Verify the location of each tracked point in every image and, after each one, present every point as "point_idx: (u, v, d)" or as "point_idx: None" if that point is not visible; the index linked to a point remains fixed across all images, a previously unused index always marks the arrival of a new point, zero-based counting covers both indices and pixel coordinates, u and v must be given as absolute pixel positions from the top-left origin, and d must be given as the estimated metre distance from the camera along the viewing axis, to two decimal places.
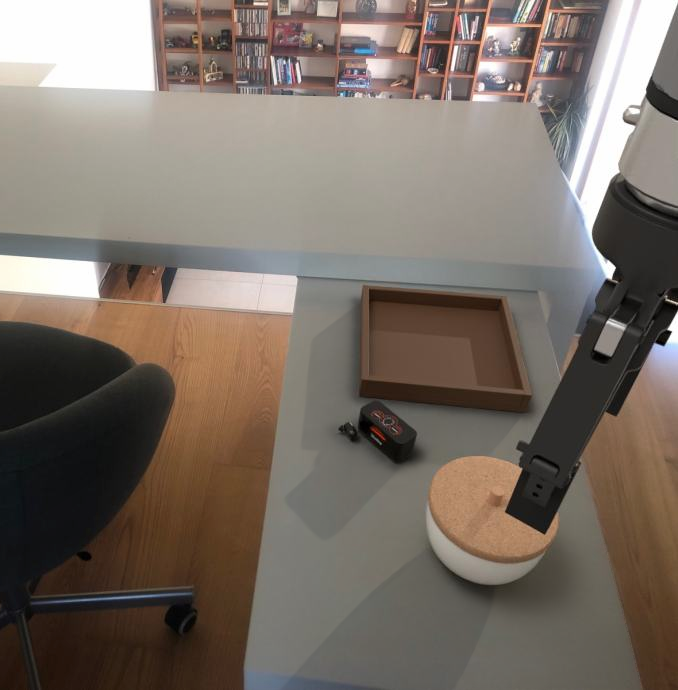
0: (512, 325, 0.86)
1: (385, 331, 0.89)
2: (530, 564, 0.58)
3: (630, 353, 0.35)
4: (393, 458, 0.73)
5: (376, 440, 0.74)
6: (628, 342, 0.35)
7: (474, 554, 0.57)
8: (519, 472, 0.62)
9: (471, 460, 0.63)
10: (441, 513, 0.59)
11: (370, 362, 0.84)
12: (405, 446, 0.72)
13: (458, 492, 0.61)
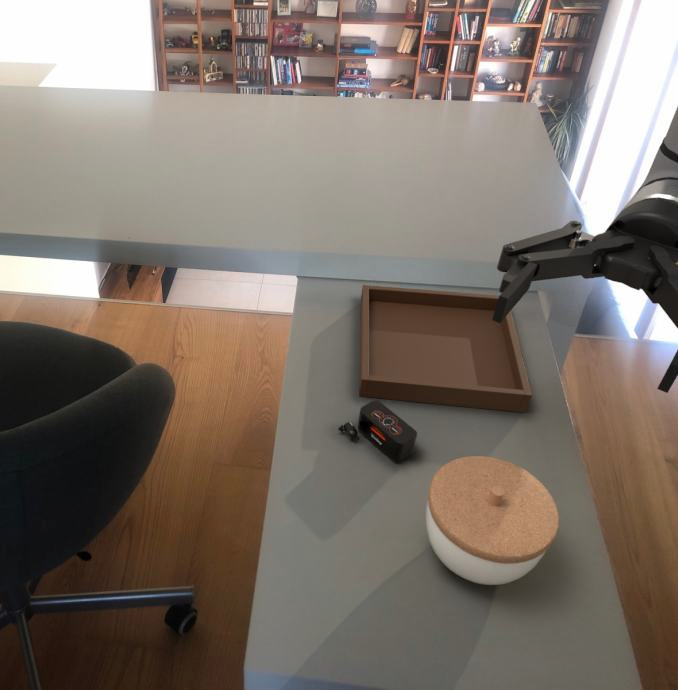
0: (512, 325, 0.86)
1: (385, 331, 0.89)
2: (530, 564, 0.58)
3: (566, 224, 0.68)
4: (393, 458, 0.73)
5: (376, 440, 0.74)
6: None
7: (474, 554, 0.57)
8: (519, 472, 0.62)
9: (470, 460, 0.63)
10: (441, 513, 0.59)
11: (370, 362, 0.84)
12: (405, 446, 0.72)
13: (458, 492, 0.61)
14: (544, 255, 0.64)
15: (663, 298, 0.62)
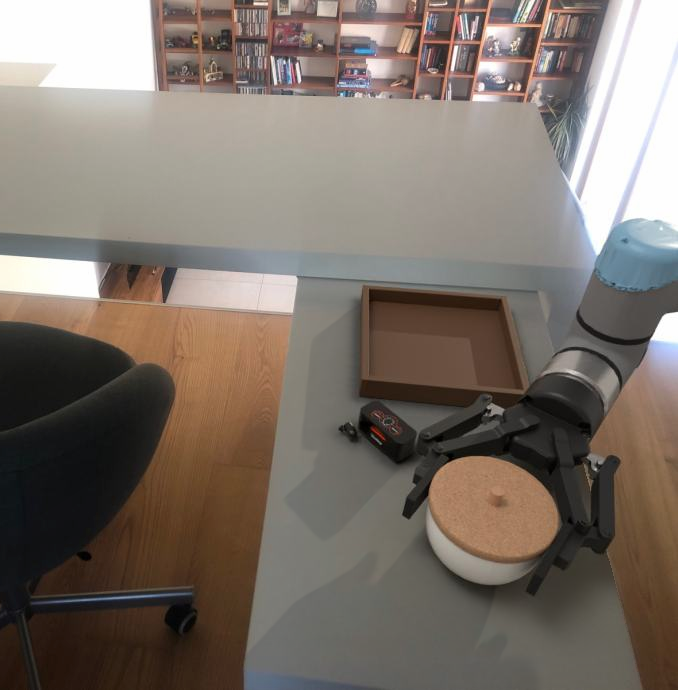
0: (512, 325, 0.86)
1: (385, 331, 0.89)
2: (530, 564, 0.58)
3: (477, 399, 0.70)
4: (393, 458, 0.73)
5: (376, 440, 0.74)
6: None
7: (474, 554, 0.57)
8: (519, 472, 0.62)
9: (471, 460, 0.63)
10: (441, 513, 0.59)
11: (370, 362, 0.84)
12: (405, 446, 0.72)
13: (458, 492, 0.61)
14: (457, 443, 0.66)
15: (555, 483, 0.64)
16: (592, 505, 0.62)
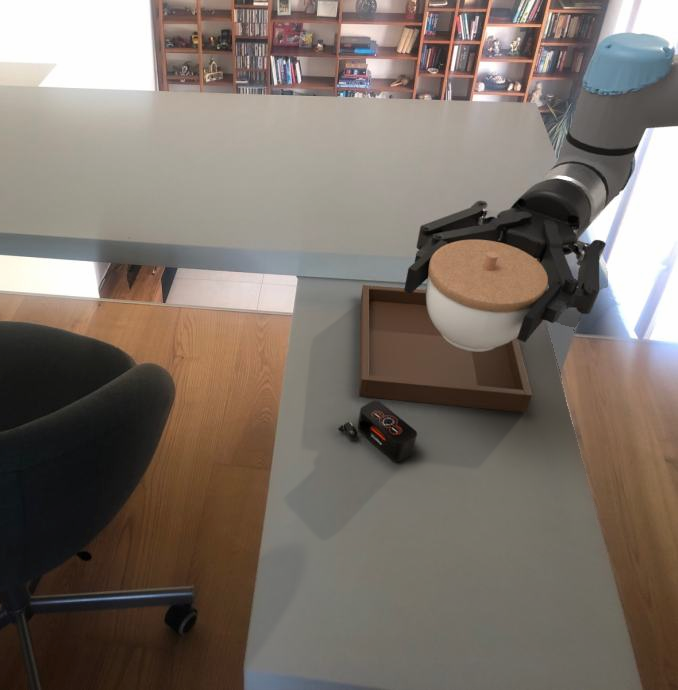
0: None
1: (385, 331, 0.89)
2: (522, 317, 0.63)
3: (474, 204, 0.76)
4: (393, 458, 0.73)
5: (376, 440, 0.74)
6: None
7: (470, 306, 0.62)
8: (512, 249, 0.68)
9: (467, 242, 0.69)
10: (440, 276, 0.65)
11: (370, 362, 0.84)
12: (405, 446, 0.72)
13: (456, 262, 0.66)
14: (455, 233, 0.71)
15: (545, 264, 0.69)
16: (579, 280, 0.68)
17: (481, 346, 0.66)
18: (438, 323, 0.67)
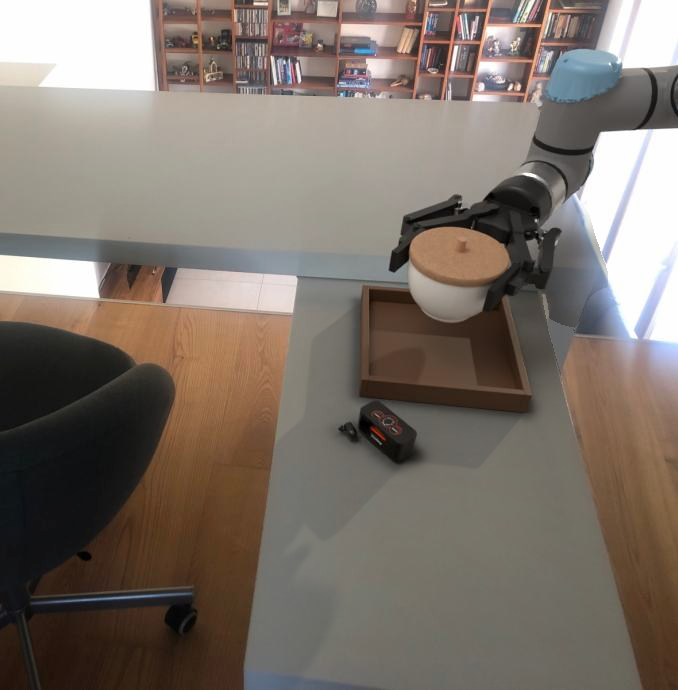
0: (512, 325, 0.86)
1: (385, 331, 0.89)
2: (486, 291, 0.75)
3: (450, 197, 0.87)
4: (393, 458, 0.73)
5: (376, 440, 0.74)
6: None
7: (443, 281, 0.74)
8: (480, 234, 0.79)
9: (443, 229, 0.80)
10: (418, 257, 0.76)
11: (370, 362, 0.84)
12: (405, 446, 0.72)
13: (432, 245, 0.78)
14: (432, 222, 0.83)
15: (510, 249, 0.81)
16: (538, 261, 0.79)
17: (453, 317, 0.78)
18: (417, 298, 0.78)
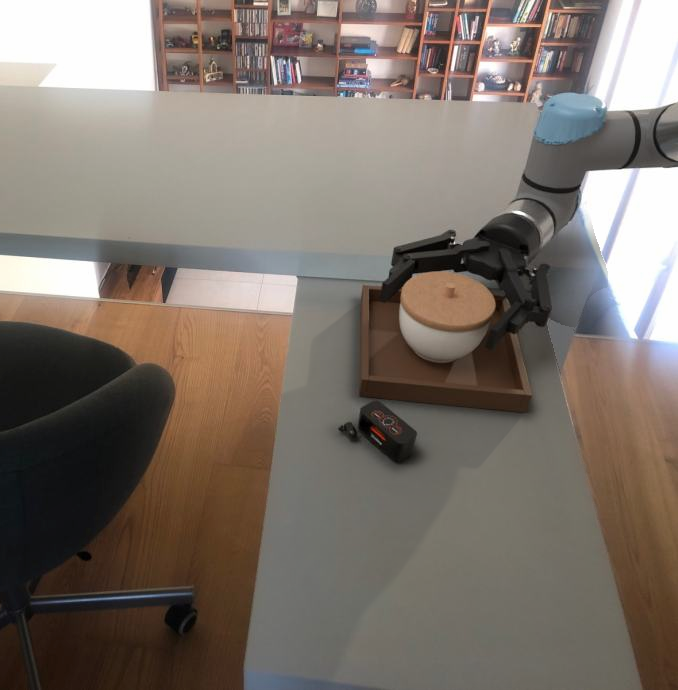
0: None
1: (385, 331, 0.89)
2: (474, 336, 0.79)
3: (445, 232, 0.91)
4: (393, 458, 0.73)
5: (376, 440, 0.74)
6: None
7: (432, 327, 0.78)
8: (468, 279, 0.83)
9: (433, 273, 0.85)
10: (409, 302, 0.80)
11: (370, 362, 0.84)
12: (405, 446, 0.72)
13: (422, 290, 0.82)
14: (422, 254, 0.87)
15: (505, 286, 0.85)
16: (533, 298, 0.83)
17: (443, 359, 0.82)
18: (408, 340, 0.83)
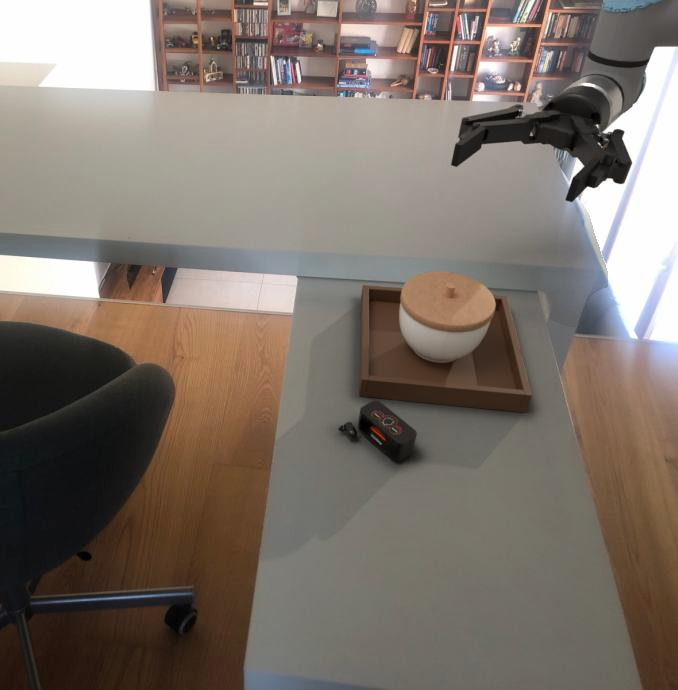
0: (512, 325, 0.86)
1: (385, 331, 0.89)
2: (474, 336, 0.79)
3: (512, 106, 0.90)
4: (393, 458, 0.73)
5: (376, 440, 0.74)
6: None
7: (432, 327, 0.78)
8: (468, 279, 0.83)
9: (433, 273, 0.84)
10: (409, 302, 0.80)
11: (370, 362, 0.84)
12: (405, 446, 0.72)
13: (422, 290, 0.82)
14: (492, 123, 0.86)
15: (578, 151, 0.83)
16: None
17: (443, 359, 0.82)
18: (408, 340, 0.83)
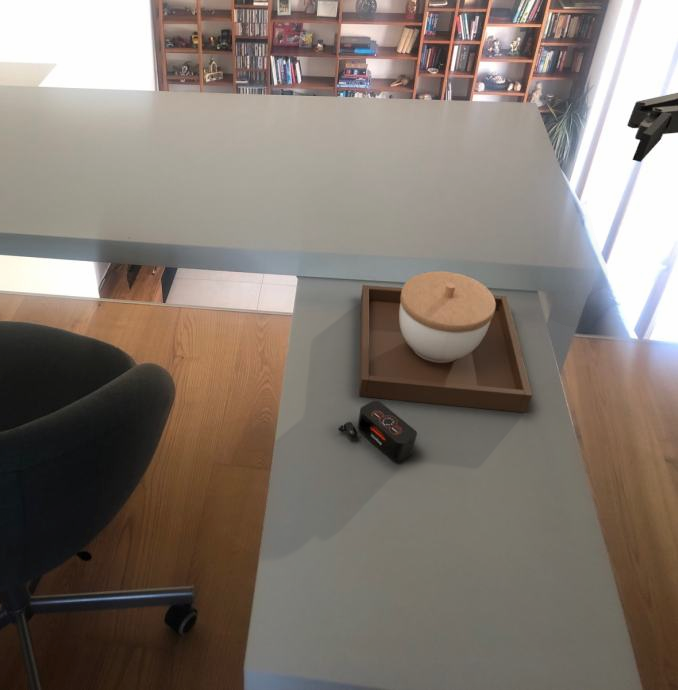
0: (512, 325, 0.86)
1: (385, 331, 0.89)
2: (474, 336, 0.79)
3: None
4: (393, 458, 0.73)
5: (376, 440, 0.74)
6: None
7: (432, 327, 0.78)
8: (468, 279, 0.83)
9: (433, 273, 0.84)
10: (409, 302, 0.80)
11: (370, 362, 0.84)
12: (405, 446, 0.72)
13: (422, 290, 0.82)
14: (675, 108, 0.70)
15: None
16: None
17: (443, 359, 0.82)
18: (408, 340, 0.83)
